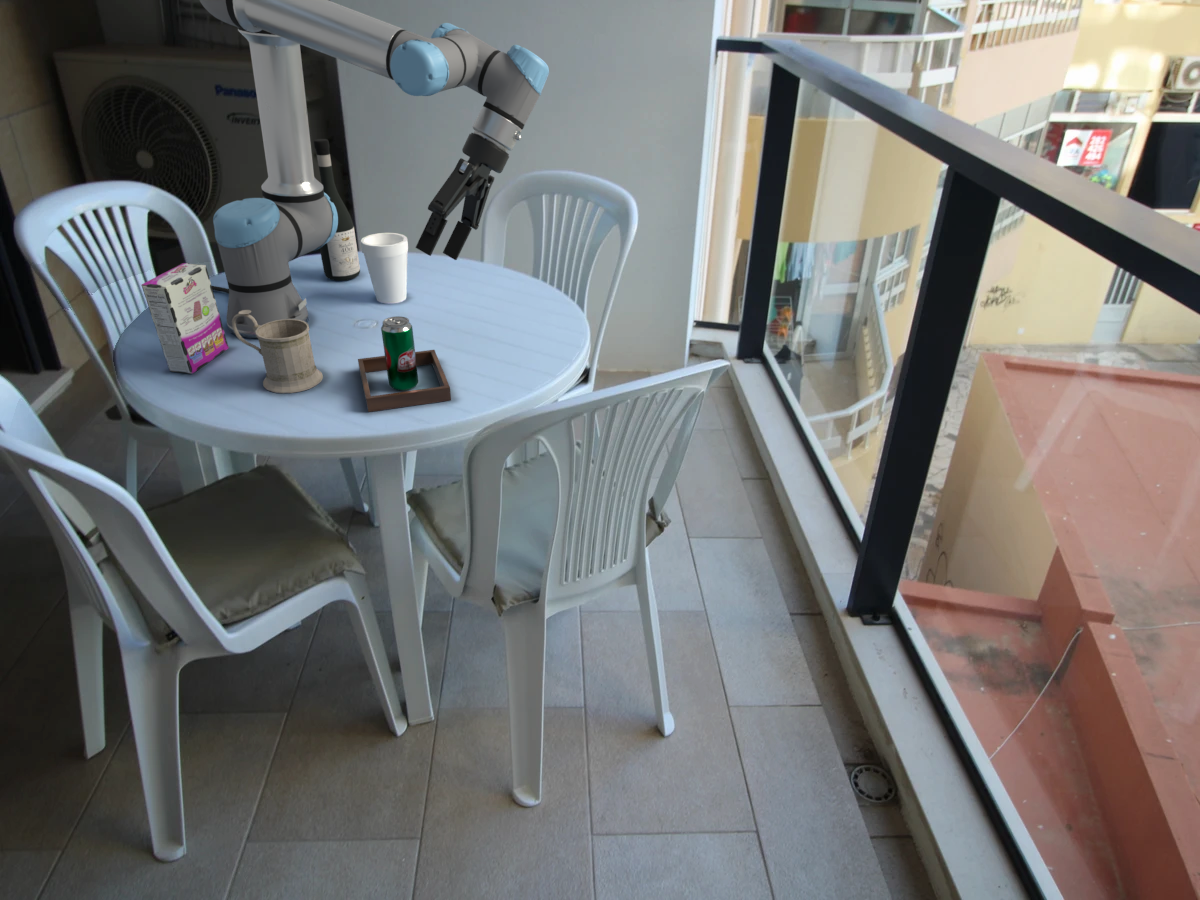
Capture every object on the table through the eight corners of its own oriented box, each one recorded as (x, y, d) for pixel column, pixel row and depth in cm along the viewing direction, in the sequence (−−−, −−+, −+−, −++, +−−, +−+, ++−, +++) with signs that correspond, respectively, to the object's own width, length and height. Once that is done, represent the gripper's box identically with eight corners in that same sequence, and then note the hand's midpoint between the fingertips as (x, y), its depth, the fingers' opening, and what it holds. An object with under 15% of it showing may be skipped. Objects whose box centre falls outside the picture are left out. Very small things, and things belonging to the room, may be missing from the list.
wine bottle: (367, 276, 180) (347, 140, 164) (336, 285, 175) (313, 145, 159) (349, 268, 184) (327, 134, 168) (318, 276, 180) (293, 139, 164)
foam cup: (422, 296, 170) (416, 238, 163) (392, 309, 163) (384, 249, 157) (391, 287, 174) (384, 230, 167) (360, 300, 168) (351, 240, 161)
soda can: (404, 395, 132) (396, 329, 125) (382, 387, 134) (373, 322, 128) (425, 383, 135) (417, 319, 129) (403, 376, 138) (395, 312, 131)
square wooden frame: (359, 371, 139) (357, 358, 138) (435, 361, 143) (434, 349, 142) (368, 412, 127) (366, 398, 125) (451, 400, 131) (450, 387, 129)
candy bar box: (206, 346, 146) (182, 261, 138) (230, 349, 146) (208, 264, 137) (166, 372, 137) (139, 283, 128) (192, 375, 136) (166, 286, 128)
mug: (333, 371, 139) (321, 308, 132) (303, 396, 131) (289, 330, 124) (261, 361, 141) (246, 299, 135) (227, 385, 133) (210, 320, 127)
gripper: (489, 137, 120) (430, 260, 125) (526, 165, 144) (475, 267, 149) (448, 113, 120) (390, 237, 125) (492, 145, 144) (442, 248, 149)
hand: (436, 254), depth 137 cm, fingers open, 13 cm apart
